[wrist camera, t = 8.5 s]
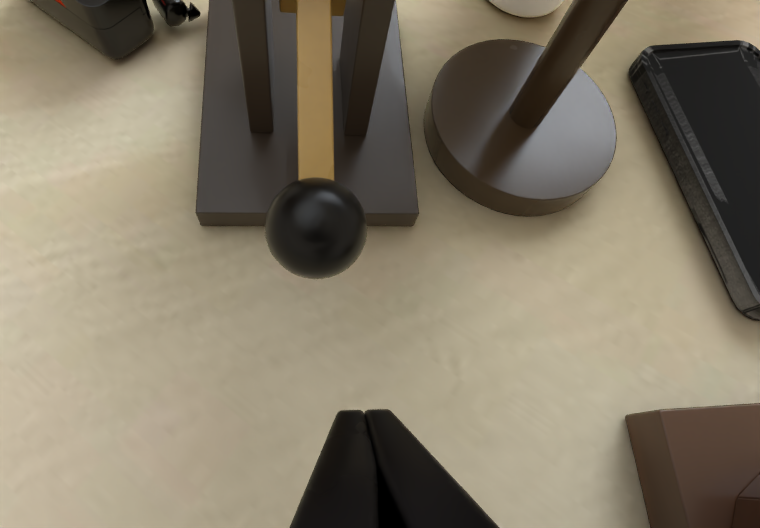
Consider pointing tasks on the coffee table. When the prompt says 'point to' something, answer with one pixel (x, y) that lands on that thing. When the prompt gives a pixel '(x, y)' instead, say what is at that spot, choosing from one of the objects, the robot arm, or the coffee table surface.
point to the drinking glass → (527, 7)
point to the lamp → (525, 117)
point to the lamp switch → (279, 112)
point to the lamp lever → (315, 162)
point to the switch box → (699, 465)
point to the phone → (712, 147)
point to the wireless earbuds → (115, 21)
